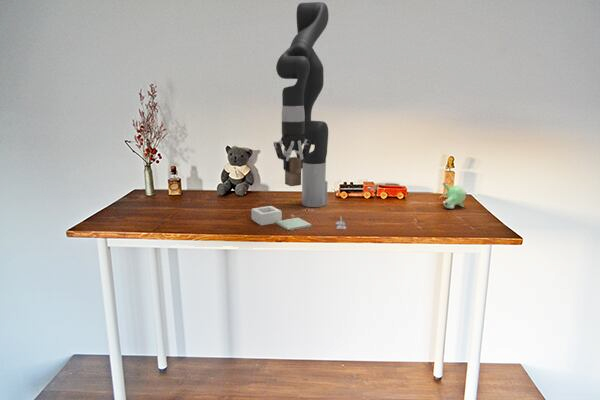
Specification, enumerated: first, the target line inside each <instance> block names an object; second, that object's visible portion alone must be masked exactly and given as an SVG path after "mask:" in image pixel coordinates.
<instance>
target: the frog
mask: <svg viewBox="0 0 600 400" xmlns="http://www.w3.org/2000/svg"><path fill="white" fill-rule="evenodd" d="M441 184H442V186H443V187H444V188H445V189H446V191H447V192H446V193H444V194H443V193H442V194H441V195H440V196H438V197H439V198H438V199H441V198H444V197H447V199H445V200H443V201H442V202H443V203H442V204H443V205H444V207H445V208H446V209H448V210H452V209H454V208H455V206H456V205H457V204H458V205H459V206H460V207H461V208H464V207H465V206H464V203H462V202H463V201H465V199H466V196H467V192H466V190H465V189H464V188H463V187H462V186H461V185H453V186H451V187H450V186H449V184H448V183H447V182H446V181H443V182H442V183H441Z"/></svg>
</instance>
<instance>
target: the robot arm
mask: <svg viewBox="0 0 600 400" xmlns="http://www.w3.org/2000/svg"><path fill="white" fill-rule="evenodd" d="M328 23H329V9H328V6H327V4H326V3H325V2H321V1H315V2H312V1H311V2H300V3H298V5H297V7H296V27H297V28H296V30H297V31H296V32H297V34H296V35H295V36H294V37H293V39H292V41H291V43H290V46H289V47H288V48H287V49H286V50H285V51H284V52H283V53H282V54H281V55H280V57H279V58H278V59H277V62H276V65H275V67H276V68H275V69H276V74H277V75H278V77H279V78H281V79H285V80H296V81H295V82H296V83H295V84H294V85H289V86H286V87H284V88H283V89H282V90H281V92H282V94H281V95H282V96H281V97H282V103H281V104H282V107H281V139H279V140H278V141H274V142H273V147H274V150H275V153H276V156H277V159H279V160H281V161H283V170H284V172H285V171H286V172H289V158H290V157H291V155H292V152H293V151H294V153H295V157H297V158H300V159H301V204H302V206H304V207H309V208H319V207H324V206H325V205H328V180H326V178H327V176H326V168H327V165H326V164H327V161H326V160H327V156H328V145H329V143H328V142H329V127H328V124H327V122H325V121H324V120H322V121H321V120H312V110H313V108H314V105H315V102H316V101H317V99H318V97H319V95H320V94H321V92H322V90H323V87H324V78H325V77H324V72H325V71H324V66H323V65H324V64H323V62H322V61H321V59H320V58H319V56H318V54H317V53H316V52H315V50H314V45H315V44H316V42H317V40H318V39H319V38H320V37H321V35H322V33H324V31H325V29H326V28H327V25H328ZM283 146H284V147H283ZM312 146H313V147H314V148H313V150H311V147H312ZM282 147H283V148H282ZM310 150H311V151H310Z"/></svg>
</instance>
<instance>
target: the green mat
mask: <svg viewBox="0 0 600 400" xmlns="http://www.w3.org/2000/svg"><path fill="white" fill-rule="evenodd" d="M275 224H277V225H278V226H280V227H281V228H282V229H284V230H286V229H287V231H288V230H290V231H294V230H295V229H296V230H300V229H304V228H311V227H312V224H311V223H310V222H307V221H305V220H304V219H301V218H300V217H294V218H293V217H292V218H288V219H282V220H281V221H276V223H275ZM296 230H295V231H296Z"/></svg>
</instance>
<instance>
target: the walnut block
mask: <svg viewBox="0 0 600 400" xmlns="http://www.w3.org/2000/svg"><path fill="white" fill-rule="evenodd" d="M284 185H286V186H289V187H297V186H302V169H301V159H300V158H297V156H293V157H292V156H290V158H289V172H286V171H285V170H284Z"/></svg>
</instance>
